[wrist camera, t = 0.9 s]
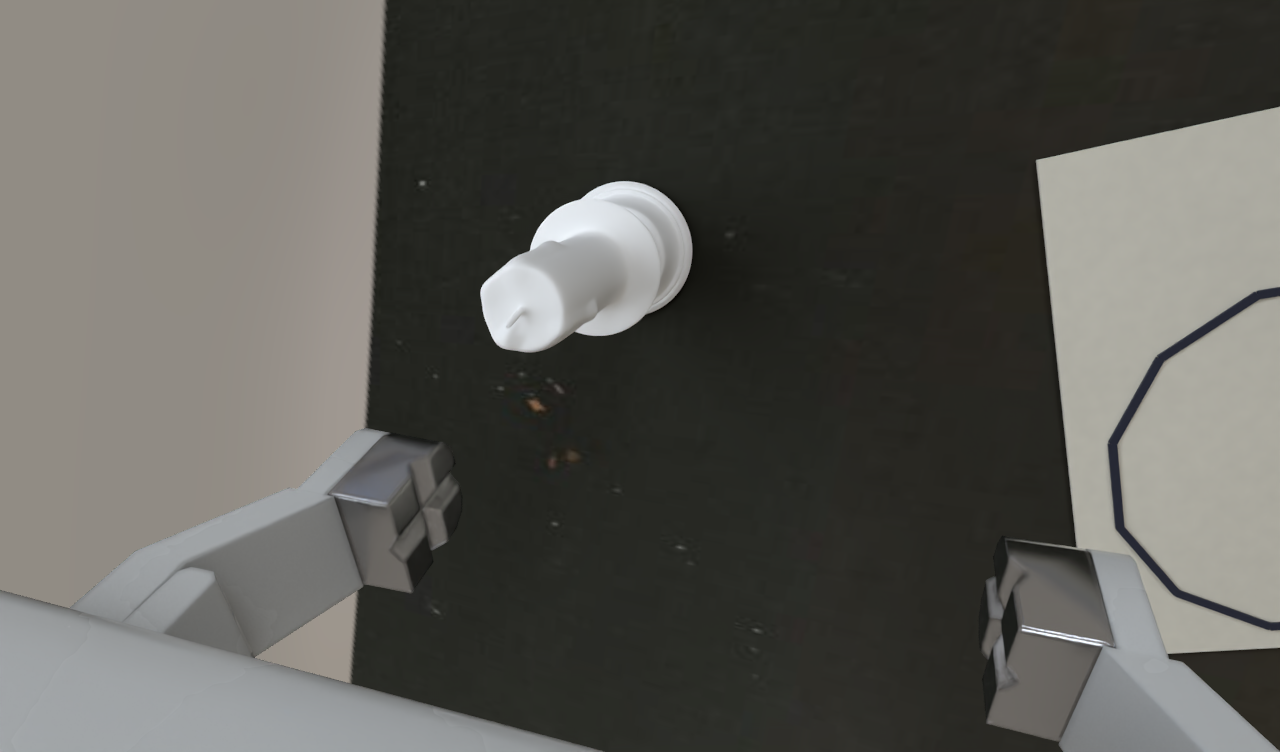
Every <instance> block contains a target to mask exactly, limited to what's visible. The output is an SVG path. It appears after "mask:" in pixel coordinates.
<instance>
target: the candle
mask: <svg viewBox="0 0 1280 752" xmlns="http://www.w3.org/2000/svg"><path fill="white" fill-rule="evenodd" d="M691 262H692V240H691V235H690V231H689V228H688V226H687V223H686V221H685V219H684V217H683V215H682V214H681V212H680V211H679V209H678V208H677V207H676V205H675V204H674V203H673V202H672V201H671V200H670V199H669V198H668V197H666V196H665V195H664V194H663V193H661V192H660V191H658V190H656V189H654V188H652V187H650V186H647V185H645V184H641V183H637V182H630V181H620V182H613V183H608V184H605V185H602V186H600V187H598V188H596V189H594V190H592V191H591V192H589V193H588V194H586V195H585V196H584V197H583V198H582V199H581V200H577V201H573V202H570V203H568V204H565V205H563V206H561V207H560V208H558V209H556V210H555V211H554V212H552V213H551V214H550V215H549V216H548V217H547V218H546V219H545V220H544V221H543V223H542V224H541V225H540V227H539V228H538V230H537V232H536V234H535V236H534V238H533V241H532V244H531V248H530V251H529V252H526V253H523V254H521V255H518V256H516V257H515V258H513V259H512V260H510V261H509V262H508V263H507V264H506V265H505V266H503V267H502V268H501V269H500V270H498V271H497V272H496V273H495V274H494V275H493V276H491V277H490V278H489V279H488V280H487V281H486V282H485V283H484V284H483V286H482V288H481V301H482V306H483V314H484V318H485V321H486V323H487V325H488V328H489V330H490V333H491V335H492V337H493V339H494V341H495V342H496V344H497V345H498V346H500V347H501V348H504V349H507V350H515V351H521V352H538V351H542V350H545V349H547V348H550V347H552V346H554V345H555V344H557V343H559V342H560V341H562V340H563V339H565V338H566V337H567V336H569V335H570V334H572V333H573V332H574V331H575V332H578V333H581V334H585V335H591V336H606V335H612V334H616V333H619V332H621V331H624V330H626V329H628V328H630V327H631V326H633V325H634V324H636V323H637V322H638V321H639V320H640V319H641V318H642V317H643V316H644V315H645V314H648V313H651V312H653V311H656V310H658V309H660V308H661V307H663V306H664V305H666V304H667V303H668V302H670V301H671V300H672V299H673V298H674V297H675V296H676V295H677V293H678V292H679V291H680V290H681V288H682V286H683V285H684V283H685V281H686V279H687V277H688V274H689V271H690V267H691Z"/></svg>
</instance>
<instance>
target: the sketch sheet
mask: <svg viewBox="0 0 1280 752" xmlns="http://www.w3.org/2000/svg"><path fill="white" fill-rule="evenodd" d="M1036 166H1037V175H1038V185H1039V194H1040V204H1041V214H1042V223H1043V233H1044V242H1045V252H1046V261H1047V271H1048V280H1049V290H1050V299H1051V309H1052V318H1053V328H1054V337H1055V347H1056V356H1057V366H1058V375H1059V385H1060V394H1061V404H1062V413H1063V423H1064V432H1065V442H1066V451H1067V461H1068V470H1069V480H1070V490H1071V499H1072V509H1073V518H1074V528H1075V537H1076V547H1077V548H1082V549H1084V550H1085V549H1092V550H1099V551H1106V552H1112V553H1119V554H1126V555H1130V556H1131V557H1132V558H1133V559H1134V560H1135V561H1136V563H1137V566H1138V569H1139V572H1140V575H1141V578H1142V581H1143V584H1144V587H1145V590H1146V593H1147V596H1148V599H1149V601H1150V604H1151V607H1152V610H1153V613H1154V616H1155V619H1156V622H1157V625H1158V628H1159V631H1160V634H1161V637H1162V640H1163V643H1164V646H1165V649H1166V652H1167V654H1171V653H1190V652H1208V651H1227V650H1245V649H1264V648H1280V107H1277V108H1272V109H1267V110H1263V111H1258V112H1254V113H1249V114H1245V115H1240V116H1235V117H1231V118H1226V119H1222V120H1217V121H1213V122H1208V123H1204V124H1199V125H1194V126H1190V127H1185V128H1181V129H1176V130H1172V131H1167V132H1163V133H1158V134H1153V135H1149V136H1144V137H1140V138H1135V139H1131V140H1126V141H1121V142H1117V143H1112V144H1108V145H1103V146H1099V147H1094V148H1090V149H1085V150H1080V151H1076V152H1071V153H1067V154H1062V155H1058V156H1053V157H1049V158H1044V159H1039V160H1036Z"/></svg>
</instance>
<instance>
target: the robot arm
mask: <svg viewBox="0 0 1280 752" xmlns="http://www.w3.org/2000/svg"><path fill="white" fill-rule="evenodd" d="M455 464H456V463H455V459H454V456H453V452H452V448H451V447H450V446H449V445H447V444H445V443H442V442H437V441H432V440H427V439H422V438H416V437H411V436H406V435H401V434H396V433H387V432H382V431H377V430H372V429H367V428H364V429H361V430H358V431H355V432H354V434H352V435H351V436H350V437H349V438H348V439H347V440H346V441H345V442H344V443H343V444H342V445H341V446H340V447H339V448H338V449H337V450H336V451H335V452H334V453H333V454H332V455H331V456H330V457H329V458H328V459H327V460H326V461H325V462H324V463H323V464H322V465H321V466H320V467H319V468H318V469H317V470H316V471H315V472H314V473H313V474H312V475H311V476H310V477H309V478H308V479H307V480H306V481H305V482H304V483H303V484H302V485H301V486H300V487H299V488H298V489H293V488H287V489H284V490H282V491H280V492H277V493H275V494H272V495H270V496H267V497H265V498H263V499H260V500H258V501H255V502H253V503H251V504H248V505H246V506H243V507H241V508H238V509H236V510H234V511H231V512H229V513H226V514H224V515H221V516H219V517H216V518H214V519H211V520H209V521H207V522H204V523H202V524H199V525H197V526H194V527H192V528H190V529H187V530H185V531H183V532H180V533H178V534H175V535H173V536H170V537H168V538H165V539H163V540H161V541H158V542H156V543H153V544H151V545H148V546H146V547H144V548H141V549H139V550H136V551H135V552H134V553H133V554H131V555H130V556H129V557H128V558H127V559H126V560H124V561H123V562H122V563H121V564H120V565H119V566H118V567H116V568H115V569H114V570H113V571H112V572H111V573H110V574H108V575H107V576H106V577H105V578H104V579H103V580H101V581H100V582H99V583H98V584H97V585H96V586H94V587H93V588H92V589H91V590H90V591H89V592H87V593H86V594H85V595H84V596H83V597H82V598H81V599H79V600H78V601H77V602H76V603H75V604H74V605H72V606H71V607H70V608H65V607H62V606H58V605H54V604H51V603H47V602H43V601H39V600H35V599H32V598H28V597H24V596H21V595H17V594H13V593H10V592H6V591H2V590H0V752H604V751H600V750H596V749H593V748H589V747H585V746H581V745H578V744H574V743H570V742H567V741H563V740H559V739H555V738H552V737H548V736H544V735H540V734H537V733H533V732H529V731H526V730H522V729H518V728H514V727H511V726H507V725H503V724H499V723H496V722H492V721H488V720H485V719H481V718H477V717H473V716H470V715H466V714H462V713H458V712H455V711H451V710H447V709H444V708H440V707H436V706H432V705H429V704H425V703H421V702H417V701H414V700H410V699H406V698H402V697H399V696H395V695H391V694H387V693H384V692H380V691H376V690H372V689H369V688H365V687H361V686H357V685H354V684H350V683H346V682H343V681H339V680H335V679H331V678H328V677H324V676H320V675H316V674H313V673H309V672H305V671H301V670H298V669H294V668H290V667H286V666H283V665H279V664H275V663H271V662H267V661H264V660H260V659H257V658H255V657H256V656H257V655H259V654H260V653H262V652H263V651H265V650H266V649H268V648H269V647H271V646H273V645H274V644H276V643H277V642H279V641H280V640H282V639H283V638H285V637H286V636H288V635H289V634H291V633H293V632H294V631H296V630H297V629H299V628H300V627H302V626H303V625H305V624H306V623H308V622H309V621H311V620H312V619H314V618H316V617H317V616H318V615H320V614H322V613H323V612H325V611H326V610H328V609H329V608H331V607H333V606H334V605H336V604H337V603H339V602H340V601H342V600H343V599H345V598H346V597H348V596H350V595H351V594H353V593H354V592H356V591H357V590H359V589H360V588H362V587H363V584H367V585H372V586H377V587H383V588H388V589H393V590H398V591H403V592H408V593H412V592H413V590H414V589H415V587H416V586H417V585H418V583H419V582H420V580H421V579H422V577H423V576H424V575H425V573H426V572H427V570H428V569H429V568H430V566H431V565H432V563H433V556H432V550H433V549H435V548H437V547H439V546H440V545H442V544H444V543H446V542H448V540H449V539H450V537H451V536H452V534H453V533H454V531H455V530H456V528H457V525H458V522H459V519H460V516H461V512H462V492H461V487H460V485H459V483H458V482H457V481H456V480H455V479H454V478H453V476H452V475H451V474H450V473H449V472H450V471H451V469H452V468H453V467H454V465H455ZM993 560H994V569H995V576H993V577H991V578H990V579H988V580H986V583H985V587H984V591H983V594H982V598H981V605H980V612H979V647H980V651H981V652H982V654H983V655H984V656H985V657H986V658H987V660H988V662H987V665H986V669H985V672H984V675H983V678H982V681H983V691H984V701H985V711H986V722H987V724H991V725H995V726H999V727H1003V728H1007V729H1011V730H1015V731H1019V732H1023V733H1027V734H1031V735H1035V736H1039V737H1043V738H1047V739H1051V740H1055V741H1059V742H1060V743H1059V746H1060V747H1061V749H1062V750H1063V752H1280V751H1279V750H1278V749H1277V748H1276V747H1274V746H1273V745H1272V744H1271V743H1270V742H1269V741H1268V740H1267V739H1266V738H1265V737H1264V736H1263V735H1261V734H1260V733H1259V732H1258V731H1257V730H1256V729H1255V728H1254V727H1253V726H1252V725H1251V724H1249V723H1248V722H1247V721H1246V720H1245V719H1244V718H1243V717H1242V716H1241V715H1240V714H1239V713H1238V712H1236V711H1235V710H1234V709H1233V708H1232V707H1231V706H1230V705H1229V704H1228V703H1227V702H1226V701H1225V700H1223V699H1222V698H1221V697H1220V696H1219V695H1218V694H1217V693H1216V692H1215V691H1214V690H1213V689H1212V688H1210V687H1209V686H1208V685H1207V684H1206V683H1205V682H1204V681H1203V680H1202V679H1201V678H1200V677H1198V676H1197V675H1196V674H1195V673H1194V672H1193V671H1192V670H1191V669H1190V668H1189V667H1188V666H1187V665H1185V664H1184V663H1183V662H1180V661H1175V660H1170V659H1169V658H1168V655H1167V652H1166V649H1165V646H1164V643H1163V640H1162V637H1161V634H1160V631H1159V628H1158V625H1157V622H1156V619H1155V616H1154V613H1153V610H1152V607H1151V604H1150V601H1149V599H1148V596H1147V593H1146V590H1145V587H1144V584H1143V581H1142V578H1141V575H1140V572H1139V569H1138V566H1137V563H1136V561H1135V560H1134V559H1133V558H1132V557H1131V556H1130V555H1126V554H1119V553H1112V552H1106V551H1099V550H1092V549H1085V550H1084V549H1082V548H1075V547H1069V546H1063V545H1057V544H1050V543H1044V542H1038V541H1032V540H1025V539H1019V538H1013V537H1007V536H1002V537H1001V538H1000V540H999V542H998V543H997V547H996V550H995V553H994V556H993Z"/></svg>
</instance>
